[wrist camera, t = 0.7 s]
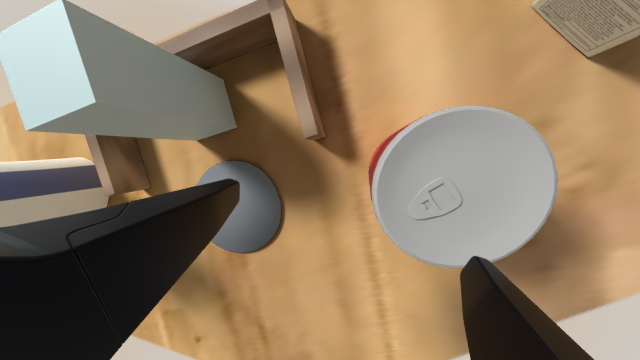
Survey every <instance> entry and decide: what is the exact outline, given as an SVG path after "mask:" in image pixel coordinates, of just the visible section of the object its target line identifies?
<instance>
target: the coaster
mask: <svg viewBox="0 0 640 360" xmlns="http://www.w3.org/2000/svg"><path fill="white" fill-rule="evenodd" d="M228 178H231V179H234V180H237V181H239V183H240V200H239V202H238V204H237V206H236V207H235V209H234V210H233V212H232V213H231V214H230V216H229V217H228V219H227V220H226V222H225V223H224V225H223V226H222V228H221V229H220V230H219V232H218V233H217V234H216V236H215V237H214V238H213V239H212V240H211V241H212V242H213V243H215V244H216V245H217V246H219V247H221V248H223V249H225V250H228V251H231V252H237V253H246V252H251V251H254V250H257V249H259V248H261V247H262V246H264V245H265V244H266V243H267V242H268V241H269V240H270V239H271V238H272V237H273V236H274V234H275V233H276V231H277V229H278V226H279V224H280V220H281V200H280V196H279V193H278V191H277V188H276V186H275V185H274V183H273V182H272V180H271V179H270V178H269V176H268V175H267V174H266V173H265V172H263V171H262V170H261V169H260V168H258V167H256V166H255V165H252V164H250V163H247V162H243V161H225V162H221V163H219V164H216V165H214V166H213V167H211V168H210V169H209V170H207V171H206V172H205V173H204V175H203V176H202V177H201V179H200V180H199V182H198V184H197V186H199V185H203V184H207V183H211V182H215V181H220V180H224V179H228Z"/></svg>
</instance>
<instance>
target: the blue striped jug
mask: <svg viewBox="0 0 640 360" xmlns="http://www.w3.org/2000/svg"><path fill="white" fill-rule="evenodd" d="M108 200H109V196H105V193H104V190H103V187H102V184H101V181H100V178H99V175H98V172H97V169H96V166H95V163H94V162H92V161H90V160H88V159H86V158H81V157H78V158H64V159H51V160H36V161H17V162H0V227H7V226H13V225H19V224H24V223H29V222H34V221H40V220H45V219H50V218H56V217H61V216H66V215H72V214H77V213H82V212H87V211H92V210H97V209H101V208H105V207H106V206H107V204H108Z"/></svg>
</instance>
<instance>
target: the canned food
mask: <svg viewBox="0 0 640 360" xmlns="http://www.w3.org/2000/svg"><path fill="white" fill-rule="evenodd" d="M557 183H558V173H557V168H556V164H555V159H554V156H553V154H552V152H551V150H550V148H549V146H548V144H547V142H546V141H545V140H544V138H543V137H542V136H541V135H540V134H539V133H538V131H537V130H536V129H535V128H534V127H532V126H531V125H530V124H528V123H527V122H526V121H524V120H523V119H522V118H520V117H517V116H515V115H513V114H511V113H509V112H506V111H504V110H500V109H495V108H491V107H486V106H462V107H455V108H448V109H443V110H440V111H437V112H434V113H431V114H428V115H426V116H424V117H422V118H420V119H418V120H416V121H414V122H412V123H410V124H409V125H407V126H405V127H404V128H402V129H400V130H399V131H397V132H396V133H394V134H392V135H391V136H389V137H388V138H387V139H386V140H384V141H383V142H382V143H381V144H380V146H379V147H378V148H377V149H376V151H375V153H374V154H373V156H372V159H371V162H370V166H369V184H370V192H371V199H372V203H373V207H374V210H375V214H376V217H377V219H378V221H379V223H380V225H381V227H382V229H383V230H384V232H385V233H386V234H387V235H388V237H389V238H390V239H391V240H392V242H393V243H394V244H395V245H397V246H398V247H399V248H400V249H401V250H403V251H404V252H405V253H407V254H408V255H410V256H412V257H414V258H416V259H418V260H419V261H422V262H425V263H428V264H431V265H434V266H440V267H447V268H464V266H465V265H466V264H467V262H468V261H469V260H470V258H471V257H472V256H479V257H482V258H485V259H487V260H489V261H490V262H491V263H492V262H495V261H498V260H500V259H503V258H505V257H507V256H508V255H510V254H512V253H514V252H515V251H517V250H519V249H520V248H521V247H523V246H524V245H525V244H526V243H527V242H528V241H530V240H531V239H532V238H533V237H534V236H535V235H536V234H537V232H538V231H539V230H540V229H541V227H542V226H543V225H544V224H545V222H546V220H547V218H548V216H549V214H550V212H551V210H552V208H553V205H554V201H555V198H556V194H557Z"/></svg>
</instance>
